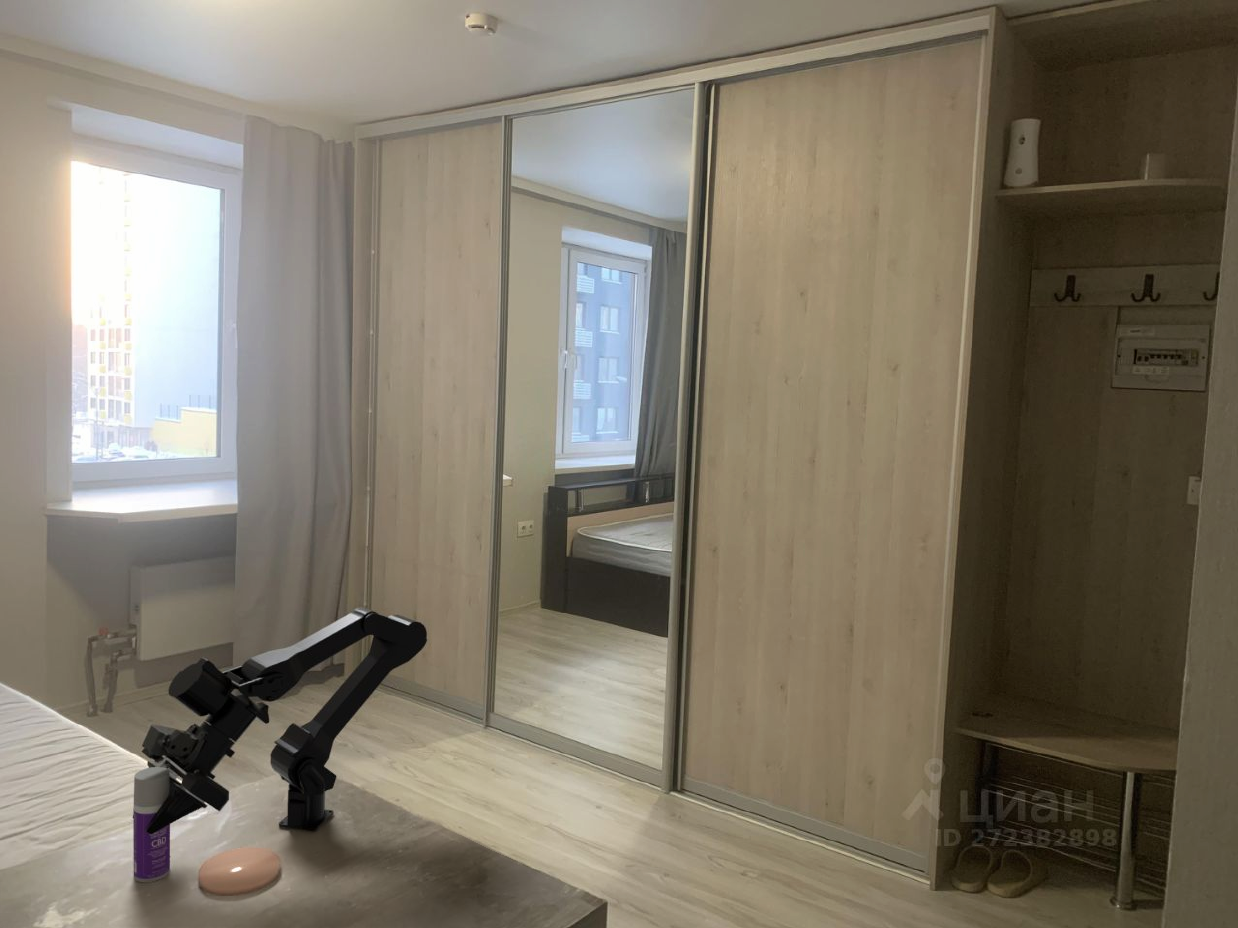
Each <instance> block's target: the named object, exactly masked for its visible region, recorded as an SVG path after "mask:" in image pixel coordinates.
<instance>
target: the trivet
mask: <svg viewBox="0 0 1238 928" xmlns="http://www.w3.org/2000/svg"><path fill="white" fill-rule="evenodd" d="M280 872H281V858H280V856H279V855H278V853H276V852H275V851H274V850H272V849H269V848H265V847H260V846H259V847H258V846H245V847H237V848H233V849H229V850H225V851H222V852H219V853H217V854H214V855H213V856H211V857H209V858H208V859H206V861H204V862H203V863H202V864H201V866H200V867H199V868H198V873H197V874H198V875H197V882H198V883H197V884H198V886H199V888H200V889H201V890H203V891H204V892H206V893H209V894H211V895H215V896H237V895H238V896H239V895H243V894H244V895H245V894H249V893H251V892H255V891H257V890H260V889H263V888H264V887H267V886H268V885H270V884H272V882H273V881H274V880H276V878H277V877H278V876H279V874H280Z"/></svg>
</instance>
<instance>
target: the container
mask: <svg viewBox="0 0 1238 928" xmlns="http://www.w3.org/2000/svg"><path fill="white" fill-rule="evenodd" d="M133 779H134V780H133V781H134V782H133V812H132V813H133V815H132V819H133V825H132V827H133V829H132V830H133V831H132V832H133V833H132V834H133V844H132V845H133V879H134V881H136V882H140V883H151V882H155V881H159V880H161V879H164V878H165V877H166V876H168V875H169V873H170V871H171V869H170V868H171V824H169V825H168V826H166V827H164V828H162V829H160V830H159V831H157V832H155V833H153V834H149V833H147V832H146V828H147V826H148V825H149V823H150V822H151V820H152V819H153V817H154V816H155V814H156V813H157V812H158V810H159V809H160V807H161V806H162V804H163V803H164V802H165V800H166V799H167V797H168V796H169V789H170V782H169V770H168V769H167V768H164V767H151V768H149V767H147V768H144V769H141V770H138V772H136V773H135V774H134V778H133Z"/></svg>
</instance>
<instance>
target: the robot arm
mask: <svg viewBox="0 0 1238 928" xmlns="http://www.w3.org/2000/svg"><path fill="white" fill-rule="evenodd" d="M370 635H371V636H373V637H372V640H371V644H370V649H369V652H368V653H367V655H366V656H365V657H364V658H363V660H362V661H361V662H360V663H359V665H357V666H356V668H355V669H354V670H353V671H352V672H351V674H350V675H349V676H348V677H347V679H345V680H344V682H343V683H342V684H341V685H340V686H339V687H338V688H337V690H336V691H335V692H334V693H333V694H332V696H331V697H330V698H329V699H328V700H327V702H326V703H324V705H323V706H322V707H321V708H320V709H319V711H318V712H317V713H316V715H315V716H314V717H313V718H311V720H310V721H309V722H307V723H305V724H303V725H301V726H300V725H298V724H296V723H295V722H292V723H291V724H290V725H289V726H288V727H287V729H286V730H285V732H284V733H283V734H282V735H281V736H280V737H279V738H278V739H276V740H275V741H274V744H275V746H274V747H273V748H272V750H271V752H270V754H269V756H270V761H269V762H270V766H271V768H272V769H273V771H274V772H276V773H277V774H278V775H279V776H280V778H281V780H282V781H285V782H286V783H288V789H287V808H286V809H287V810H286V811H287V812H286V815H285V817H284V818H283V819H281V820H280V821H279V822H278V827H281V828H285V829H286V828H287V829H288V828H289V829H294V830H302V831H308V832H316V831H317V830H319V828H320V827H321V826H323V824H324V823H326V822H327V821H328V820H329V819H330V818H331V817H332V816H333V815H334V813H335V812H334V810H332V809H326V793H327V791H329V790H332V789H334V785H335V783H336V780H337V775H336V774H335V773H334V772H332V771H331V770H330V769H328V768H327V767H325V765H326V764H327V762H328V761H329V759H330V755H331V753H332V748H333V745H334V741H335V740H336V738H337V737H338V735H339V734H340V733H341V732H342V731H343V729H344V728H346V726H347V725H348V723H349V722H350V721H351V720H352V718H354V716H355V715H356V714H357V713H358V711H359V710H360V709H361V708H362V707H363V705H364V704H365V703H366V702H367V701H368V699H369V698H370V697H371V696H372V695H373V694H374V692H375V691H376V690H377V689H378V688H379V686H380V685H381V684H382V683H383V682H384V680H385V679H387V677H388V675H389V674H390V673H391V672H392V671H394V670H395V669H397V668H399V667H401V666H403V665H405V664H407V663H408V662H410V661H412V659H414V658H415V657H416V655H418V654H419V653H420V652H421V651H422V650H423V649H424V647H425V646H426V644H427V642H428V632H427V628H426V626H425V625H424V624H423V623H422V622H420V621H417V620H415V619H412V618H409V617H406V616H403V615H402V614H390V615H388V616H385V615H383V614H379V613H378V612H377V611H374V610H371V609H369V608H366V607H363V606H362V607H361V606H359V607H357V608H353V610H352V611H350V613H349V614H347V615H345V616H343V617H341V618H339V619H337V620H335V621H334V622H332V623H330V624H329V625H326V626H324V627H323V628H321V629H319V630H317V631H316V632H314V633H313V634H311V635H309V636H307V637H306V638H304V639H302V640H300V641H298V642H296V643H295V644H293V645H290V646H287V647H283V648H278V649H273V650H268V651H266V652H262V653H261V654H257V655H254V656H253V657H250V658H249V659H247V660H246V661H244V663H242V665H239V666H236V667H233V668H230V669H226V670H224V671H221V670H220V669H218V668H217V666H216V665H215V664H214V663H213V662H212V661H210V660H209V659H207V658H206V657H201V658H200V659H199V660H198V661H197V662H196V663H191V664H190V665H187V667H185V668H184V669H183V670H180V671H178V673H177V674H176V675H175V676H174V678H173V679H172V681H171V682H170V684H169V687H168V694H169V696H170V697H171V698H172V699H174V700H175V701H177V702H178V703H179V704H181V705H183V707H185V708H186V709H188V711H191V712H192V713H193V714H194V715H196V716H198V717H202V718H203V717H206V716H207V717H206V718H205V719H204V720H203V722H202V723H201V724H200V725H198V724H197V723H193V724H191V725H189V727H188V728H187V729H186V730H181V729H179V728H173V727H168V726H164V725H159V724H153V723H152V724H151V725H150V727H149V729H148V731H147V733H146V736H145V738H144V740H143V742H142V745H141V747H142V748H143V749H142V750H141V753H143V754H144V755H145V756H146V757H147V758H149V759H150V760H151V759H152V760H153V762H151V761H149V760H148V761H147V764H146V765H147V768H151V767H164V768H167V769H168V770H169V782H170V789H169V796H168V797H167V799H166V800H165V802H164V803H163V804H162V806H161V807H160V809H159V810H158V812H157V813H156V814H155V816H154V817H153V819H152V820H151V822H150V823H149V825H148V826H147V828H146V832H147V833H149V834H153V833H155V832H157V831H159V830H160V829H162V828H164V827H166V826H168V825H169V824H170V825H171V824H173V823H175V822H176V821H178V820H180V819H182V818H183V817H186V816H189V814H192V813H194V812H196V811H198V810H199V809H202V808H203V809H206V808H207V807H208V806H210V807H212V808H213V809H215V810H216V811H217V812H221V811H222V810H223V809H224V807H225V806H226V804H227V803H229V801H230V790H228V789H226V787H224V786H223V785H221V784H220V783H219V782H217V781H216V780H215V778H216V777H217V776H216V775H214V774H213V771H214V770H215V769H216V768H217V767H218V765H219V764H220V763H221V761H222V760H223V759H224V758H225V757H226V756H227V757H229V758H230V759H231V758H232V757H233V756H234V755H235V753H236V752H235V751H234V750H233V749H232V748H233V747H234V745H236V743H237V742H238V741H239V739H240V738H241V737H242V736H243V734H244V733H245V732H246V731H247V729H249V727H251V725H252V723H253V722H255V720H256V719H257V720H259V721H260V722H261V723H263V724H266V725H268V724H270V715H269V708H270V705H268V704H266V703H264V702H269V703H270V702H271V703H272V702H275V701H277V700H280V698H283V696H285V695H286V694H287V693H288V692H290V691H291V690H292V689H293V688H295V687H296V686H298V684H299V683H300V681H301V679H302V678H303V677H304V675H305V674H306V673H308V672H309V671H310V670H311V669H313V668H315V667H316V666H319V665H320V664H322V663H323V662H325V661H327V660H329V659H330V658H333V656H336V655H337V654H338V653H340V652H342V651H344V650H345V649H347V648H349V647H350V646H353V645H354V644H356V643H358V642H359V641H361V640H363V639H365V638H366V637H369V636H370ZM233 691H237V692H238V693H240V694H238V695H234V694H233V693H232V692H233ZM252 698H258V699H259V700H261V701H260V702H256V701H254V700H253V699H252ZM262 701H264V702H262ZM178 777H180V778H181V779H182V780H181V782H180V781H179V780H178V779H177V778H178Z"/></svg>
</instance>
